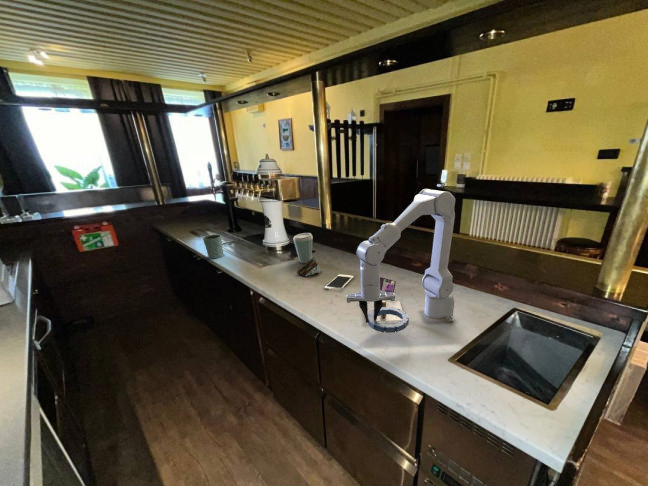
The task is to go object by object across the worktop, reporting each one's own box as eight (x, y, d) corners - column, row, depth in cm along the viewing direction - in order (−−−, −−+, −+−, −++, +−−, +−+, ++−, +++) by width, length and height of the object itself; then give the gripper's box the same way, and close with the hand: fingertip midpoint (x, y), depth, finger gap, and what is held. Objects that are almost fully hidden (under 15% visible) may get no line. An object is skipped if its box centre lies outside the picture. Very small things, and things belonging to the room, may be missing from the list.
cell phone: (354, 277, 143) (354, 275, 143) (340, 291, 130) (340, 289, 130) (339, 275, 146) (339, 274, 146) (324, 288, 133) (324, 287, 133)
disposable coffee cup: (296, 265, 162) (293, 238, 155) (295, 259, 171) (292, 233, 165) (316, 263, 164) (313, 236, 157) (313, 256, 173) (311, 231, 167)
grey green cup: (210, 253, 187) (205, 235, 182) (227, 252, 188) (223, 233, 182) (205, 259, 178) (200, 239, 173) (222, 258, 178) (218, 238, 173)
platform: (399, 304, 117) (399, 291, 115) (405, 323, 104) (406, 309, 102) (363, 306, 117) (363, 293, 115) (365, 325, 105) (364, 311, 102)
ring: (404, 311, 101) (404, 306, 100) (411, 331, 89) (411, 326, 89) (367, 312, 101) (366, 307, 100) (369, 333, 90) (369, 328, 89)
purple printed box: (376, 276, 126) (394, 281, 121) (382, 276, 130) (400, 281, 125) (373, 291, 127) (391, 297, 122) (379, 291, 132) (397, 296, 126)
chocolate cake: (302, 280, 144) (318, 260, 144) (294, 272, 148) (309, 253, 148) (313, 286, 152) (328, 268, 152) (305, 279, 156) (320, 261, 156)
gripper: (393, 275, 93) (392, 313, 99) (346, 277, 93) (348, 315, 99) (396, 284, 86) (395, 325, 92) (345, 286, 87) (348, 326, 92)
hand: (370, 320), depth 95 cm, fingers closed on ring, 2 cm apart
